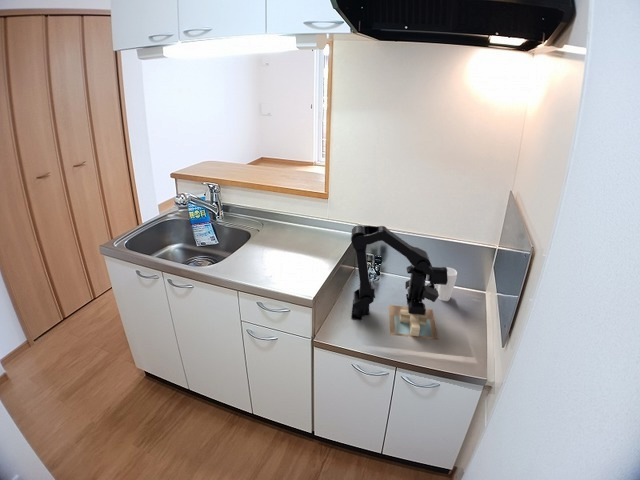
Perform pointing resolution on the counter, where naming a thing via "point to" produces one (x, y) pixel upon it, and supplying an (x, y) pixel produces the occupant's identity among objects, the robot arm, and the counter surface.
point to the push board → (403, 328)
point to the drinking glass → (447, 285)
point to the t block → (413, 321)
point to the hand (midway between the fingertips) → (412, 313)
